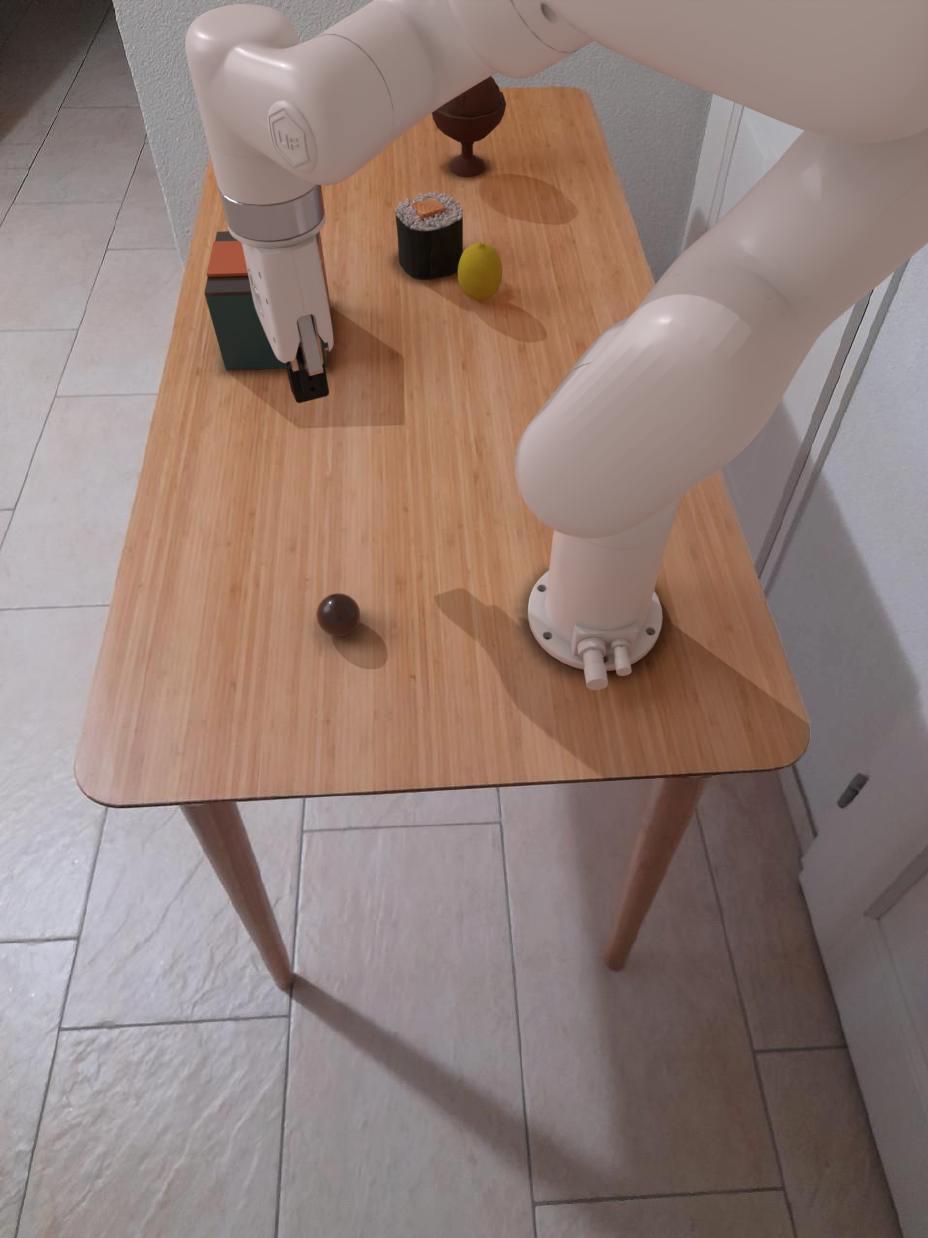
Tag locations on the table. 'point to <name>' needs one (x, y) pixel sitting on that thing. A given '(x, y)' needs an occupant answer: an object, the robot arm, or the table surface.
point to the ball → (338, 614)
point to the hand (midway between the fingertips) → (310, 393)
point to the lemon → (480, 271)
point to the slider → (227, 260)
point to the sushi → (430, 235)
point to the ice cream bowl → (471, 123)
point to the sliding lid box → (243, 319)
